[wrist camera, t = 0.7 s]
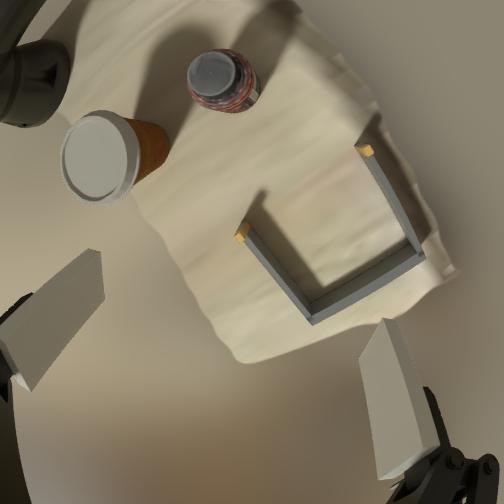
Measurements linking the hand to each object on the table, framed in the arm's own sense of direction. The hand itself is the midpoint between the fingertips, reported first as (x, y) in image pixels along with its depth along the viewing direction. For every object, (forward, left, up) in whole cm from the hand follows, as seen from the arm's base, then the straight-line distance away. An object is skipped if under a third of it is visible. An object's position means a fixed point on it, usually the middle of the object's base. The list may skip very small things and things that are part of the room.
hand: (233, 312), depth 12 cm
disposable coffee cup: (-14, -9, -24) cm, 29 cm away
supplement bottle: (-12, +4, -24) cm, 27 cm away
